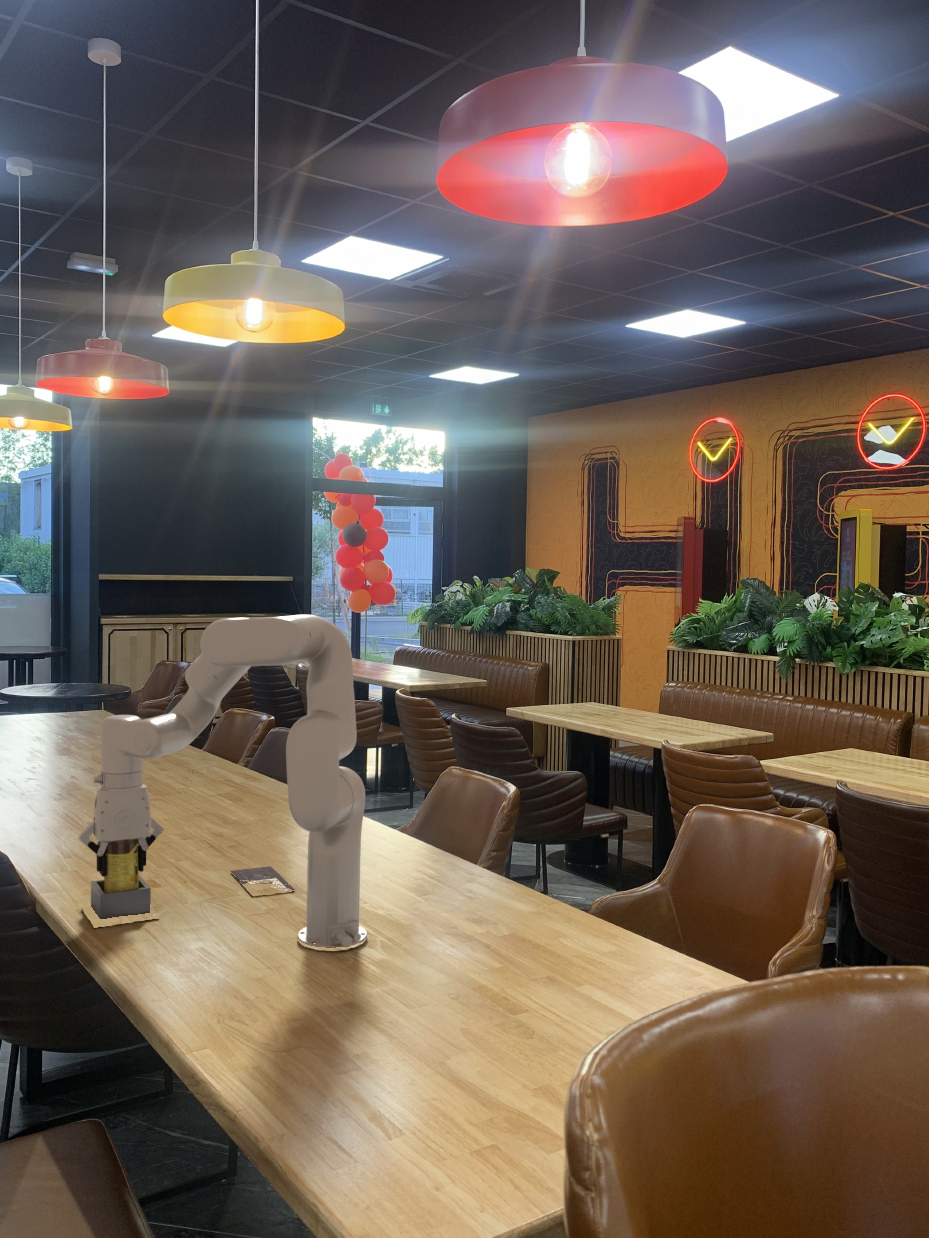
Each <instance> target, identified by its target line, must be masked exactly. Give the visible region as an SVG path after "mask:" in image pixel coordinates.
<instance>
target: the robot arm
mask: <svg viewBox="0 0 929 1238" xmlns="http://www.w3.org/2000/svg"><path fill="white" fill-rule="evenodd" d="M199 643H200V645H199V646H200V651H201V652H200V654H199V655H198V656H197V658H195V659H194V661H193V662H192V663H191V664H190V665H189V666H188V668H186V670H185V672H184V679H185V681H186V684H187V685H188V689H187V691H186V693H185V694H184V696H183V697H181V700H180V701H178V703H177V704H176V705H175V706H174V707H173V708H172V709H171V710H170V711H169V712H168V713H165V714H160V715H157V716H156V715H155V716H153V717H149V718H144V719H142V718H141V717H139V716H137V715H133V714H116V715H109V716H107V717H105V718H104V719H103V720H102V723H101V728H100V731H101V732H100V733H101V734H100V735H101V736H100V737H101V741H100V742H101V744H100V747H101V749H100V750H101V752H100V754H101V757H100V759H101V760H100V761H101V765H100V766H101V767H100V772H99V774H98V775H94V776H93V778H92V782H93V784H99V785H100V786H99V787H97V791H96V795H95V801H94V808H93V809H94V810H93V821H92V822H91V823H90V824H89V825H88V826H87V827H86V828H85V829H84V830H83V831H82V832H81V833H80V834H79V835H78V839H79V841H81V842H82V843H83V844H84V845H85V846H86V847H88V849H89V850H91V851H92V852H93V853H94V854H96V872H98V873H99V874H100V875H101V877H102V878H103V877H105V876H106V875H107V856H106V855H105V850H106V847H107V845H108V843H109V842H117V841H122V840H134V839H138V858H139V859H138V863H139V866H138V867H139V871H138V872H139V873H141V872H144V867H145V866H147V851H148V850H149V848H150V846H151V845H152V844H153V843H155V841H156V839H157V838H158V837H159V836H160V835H161V834H162V833H163V831H164V827H163V826H161V825H160V824H159V823H158V822H156V821H155V820H154V819H153V818H152V816H151V804H150V795H149V790H148V786H147V785H146V784H144V783H143V779H144V778H143V777H144V776H143V775H144V774H143V770H144V769H143V761H144V760H143V759H147V760H148V759H149V760H150V759H151V760H152V759H156V758H160V757H163V756H166V755H169V754H172V753H175V752H178V751H179V752H180V751H181V750H183V749H185V748H186V747H188V746H189V745H190V744H191V743H192V742H194V740H195V739H197V738H198V736H199V735H200V734H201V733H202V732H203V731H204V730H205V729H206V728H207V727H208V725H209V724H210V723H211V721H212V720H213V719H214V717H215V716H216V713H217V711H218V709H219V708H220V706H221V702H222V700H223V698H224V697H225V696H226V695H227V694H228V693H229V692H230V690H232V688H233V687H234V686H235V685H236V684H237V683H238V682H239V681H240V679H241V678H242V677H243V676H244V675H245V674H246V673H247V672H248V671H249V669H251V668H252V667H261V666H263V667H264V666H265V667H270V666H272V667H273V666H286V665H291V664H296V663H301V662H306V663H307V665H308V673H307V679H306V699H307V703H306V704H307V705H306V706H307V707H306V708H307V712H306V713H307V714H306V715H303V716H302V717H300V718H299V719H298V720H297V721H296V722H294V723H293V725H292V726H291V728H290V730H289V731H288V735H287V738H286V744H285V760H286V761H285V762H286V780H287V782H286V783H287V784H286V785H287V797H288V798H287V799H288V807H289V811H290V814H291V817H292V819H293V820H294V821H295V823H296V825H298V826H299V827H300V828H301V829H302V830H305V831H307V832H309V833H308V841H307V876H306V877H307V879H306V880H307V881H306V882H307V883H306V884H307V885H306V926H305V927H303V928H301V929H300V930H299V932H298V933H297V940H298V939H299V940H300V941H301V942H303V943H305V944H307V945H310V946H315V947H326V948H333V947H334V948H336V947H349V946H351V945H355V944H357V943H361V942H363V941H364V940H365V939H366V938H367V939H368V931H367V930H366V929H365V928H364V927H363V926H361V925H360V899H361V898H360V896H361V893H360V891H361V854H362V853H361V847H362V828H363V820H364V813H365V806H366V789H365V785H364V783H363V782H364V781H363V780H362V778H361V777H360V775H359V774H358V773H357V772H356V771H354V770H353V769H351V768H349V767H348V766H347V767H346V766H340V761H341V760H342V759H344V758H345V757H347V756H348V755H350V753H352V751H354V748H355V747H356V744H357V737H358V736H357V735H358V734H357V719H356V718H357V717H356V702H355V701H356V700H355V689H354V687H355V686H354V673H353V672H354V667H353V665H354V663H353V653H352V649H351V645H350V643H349V640H348V639H347V637H346V635H345V633H344V632H343V630H341V629H340V628H339V626H337V625H336V624H335V623H333V622H332V621H330V620H328V619H327V618H324V617H322V616H318V615H314V614H294V615H293V614H292V615H284V616H272V617H271V616H270V617H255V618H249V617H230V618H229V617H227V618H220V619H217V620H214V621H213V622H212V623H210V624H208V625H207V626H206V628H205V629H204V630H203V632H202V634H201V637H200V642H199ZM91 835H94V837H95V839H96V840H97V843H95V842H94V841H93V840H91V839H90V837H91ZM313 943H316V944H313Z"/></svg>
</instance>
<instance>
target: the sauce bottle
mask: <svg viewBox="0 0 929 1238" xmlns="http://www.w3.org/2000/svg"><path fill="white" fill-rule="evenodd" d="M138 846H139V844H138V839H134V840H122V841H117V842H109V843H108V845H107V847H106V850H105V855H106V856H107V875H106V876H105V877H104V878H103V880H104V893H108V892H115V891H123V890H130V889H138V888H139V876H138V875H140V874H139V873H140V871H139V867H138V866H139V863H138V859H139V858H138Z"/></svg>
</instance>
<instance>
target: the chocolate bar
mask: <svg viewBox="0 0 929 1238" xmlns="http://www.w3.org/2000/svg"><path fill="white" fill-rule="evenodd" d="M231 872H232V873H233V874H234V875H235V876H236V878H237V879H238V880H239V881H240V880H241V881H240V882H241V883H242V884H246V883H250V884H255V882H256V881H253V880H259V881H263V880H270V882H269V881H266V882H268V883H269V884H273V885H274V884H276V886H277V884H280V885H282V886H280V885H278V888H279V887H280V888H281V889H283V888H289V889H291V890H295V891H296V889H295V888H294V887H293V886H292V885H291V884H290V883H289V882H288V881H287V880H285V879H284V877H282V875H280V874H279V873H278V872H277V871H276V870H275V869H274V868H273V866H261V867H253V868H243V869H236V870H230V873H231ZM264 876H265V877H266V878H265V877H264ZM269 876H270V877H269ZM275 877H276V878H275ZM236 878H235V879H236ZM242 880H249V881H251V880H252V882H254V883H252V882H247V881H242ZM273 880H274V881H273ZM276 880H278V881H276ZM259 881H257V882H256V884H258V883H260V884H268V883H264V882H263V883H262V882H259ZM271 881H272V882H271ZM279 881H280V882H279ZM275 882H276V883H275ZM285 884H286V885H285ZM288 884H289V885H288ZM271 887H273V886H271ZM273 888H277V887H273ZM283 890H284V889H283ZM285 891H288V890H287V889H285Z"/></svg>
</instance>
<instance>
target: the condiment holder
mask: <svg viewBox="0 0 929 1238" xmlns="http://www.w3.org/2000/svg"><path fill="white" fill-rule="evenodd" d="M138 876H139V888H138V889H130V890H123V891H115V892H108V893H104V879H99V880H91V881H90V904H91V907H92V908H93V910H94V911H95V913H96V914H97V915H98V917H99V918H100V919H107V918H112V917H119V916H128V915H138V914H145V913H150V904H151V893H152V892H151V887H150V886H149V885H148V883H147V882H146V881H145V880H144V879H143V877H142V876H141V875H140V874H138Z"/></svg>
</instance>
